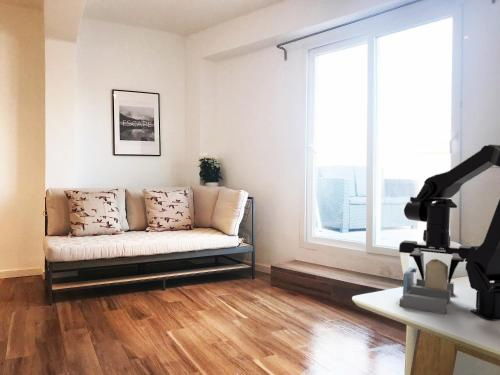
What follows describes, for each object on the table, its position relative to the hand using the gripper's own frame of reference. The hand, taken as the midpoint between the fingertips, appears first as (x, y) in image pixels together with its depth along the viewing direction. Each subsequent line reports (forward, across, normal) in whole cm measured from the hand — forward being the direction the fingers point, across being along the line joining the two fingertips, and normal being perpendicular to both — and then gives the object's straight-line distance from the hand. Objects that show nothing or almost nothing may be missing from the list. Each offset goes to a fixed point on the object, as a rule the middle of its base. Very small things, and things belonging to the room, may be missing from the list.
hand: (436, 281), depth 116 cm
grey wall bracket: (+4, +2, +5) cm, 7 cm away
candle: (+4, 0, 0) cm, 4 cm away
